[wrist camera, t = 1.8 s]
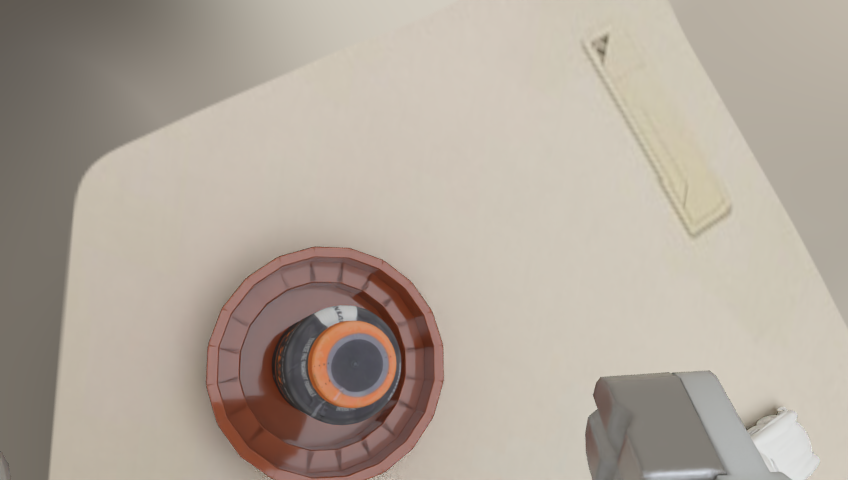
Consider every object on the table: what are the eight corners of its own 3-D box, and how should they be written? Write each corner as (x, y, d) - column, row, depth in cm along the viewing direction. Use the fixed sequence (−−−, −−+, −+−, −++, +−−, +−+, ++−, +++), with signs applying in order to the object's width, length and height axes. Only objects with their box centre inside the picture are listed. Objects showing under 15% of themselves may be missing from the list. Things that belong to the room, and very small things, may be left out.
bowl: (202, 482, 40) (201, 496, 36) (212, 255, 42) (212, 242, 38) (422, 470, 44) (445, 481, 39) (420, 262, 46) (441, 251, 42)
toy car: (806, 461, 52) (846, 467, 49) (690, 550, 48) (725, 563, 45) (776, 402, 52) (814, 404, 49) (658, 486, 48) (690, 494, 45)
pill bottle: (278, 309, 42) (300, 289, 32) (373, 321, 44) (425, 306, 33) (263, 410, 41) (282, 424, 30) (362, 419, 43) (412, 435, 32)
